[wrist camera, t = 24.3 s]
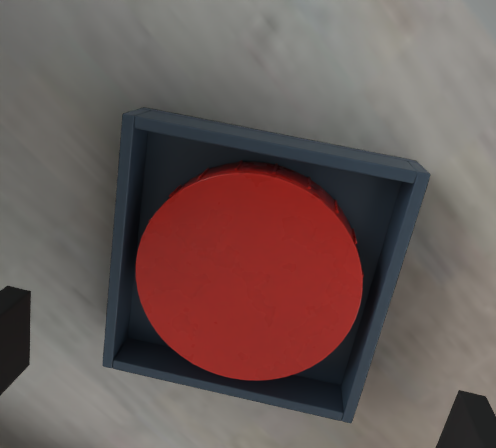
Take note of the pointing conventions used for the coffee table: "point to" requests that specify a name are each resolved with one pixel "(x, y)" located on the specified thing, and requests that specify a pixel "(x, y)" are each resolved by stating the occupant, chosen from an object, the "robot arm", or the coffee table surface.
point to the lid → (250, 271)
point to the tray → (289, 156)
